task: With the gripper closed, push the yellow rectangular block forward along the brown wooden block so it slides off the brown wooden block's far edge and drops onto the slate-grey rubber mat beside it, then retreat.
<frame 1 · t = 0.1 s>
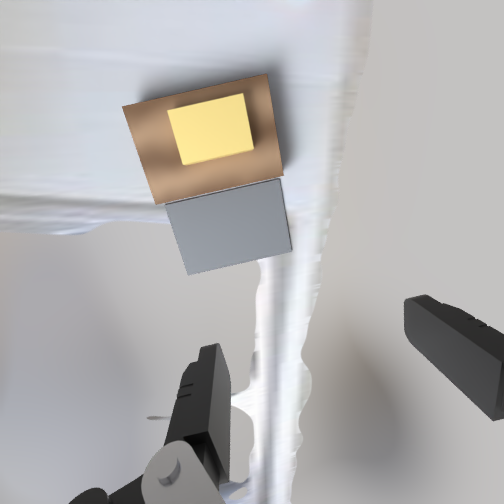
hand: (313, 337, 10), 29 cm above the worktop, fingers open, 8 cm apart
yellow rectangular block: (213, 133, 30), point 4 cm above the worktop, touching brown wooden block
mat: (231, 229, 38), on the worktop
brown wooden block: (210, 147, 34), on the worktop
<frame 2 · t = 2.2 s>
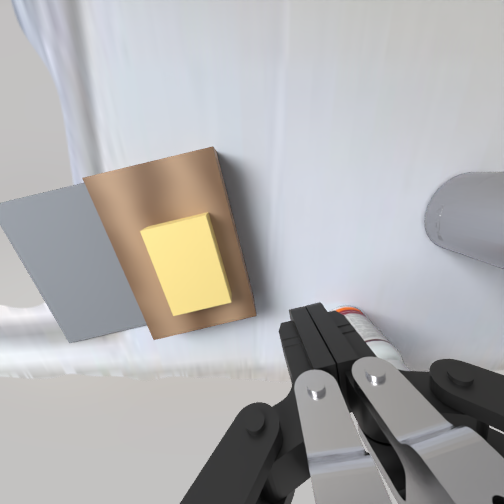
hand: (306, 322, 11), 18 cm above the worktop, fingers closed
yellow rectangular block: (192, 261, 24), point 4 cm above the worktop, touching brown wooden block
mat: (84, 268, 27), on the worktop
pill bottle: (341, 322, 33), on the worktop
brown wooden block: (187, 244, 27), on the worktop
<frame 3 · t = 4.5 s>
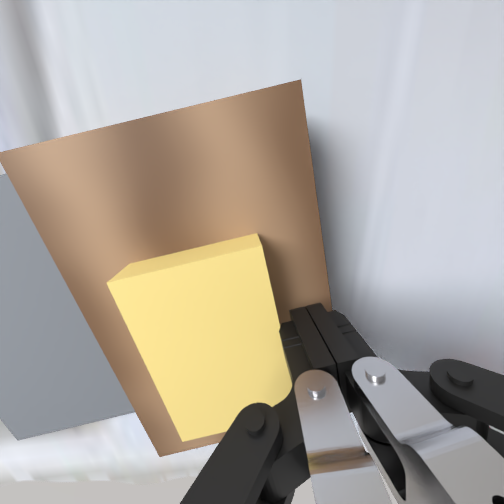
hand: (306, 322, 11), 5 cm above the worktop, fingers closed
yellow rectangular block: (219, 329, 12), point 4 cm above the worktop, touching brown wooden block, gripper
mat: (36, 324, 16), on the worktop
brown wooden block: (218, 280, 16), on the worktop
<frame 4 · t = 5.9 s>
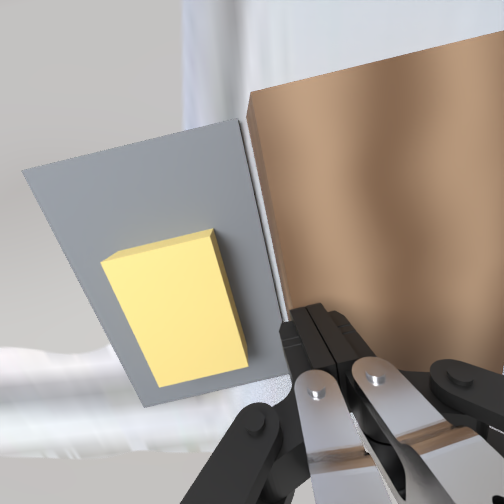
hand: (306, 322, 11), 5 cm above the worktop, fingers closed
yellow rectangular block: (181, 319, 14), point 2 cm above the worktop, tilted 180°, touching mat
mat: (182, 288, 16), on the worktop
brown wooden block: (364, 244, 16), on the worktop
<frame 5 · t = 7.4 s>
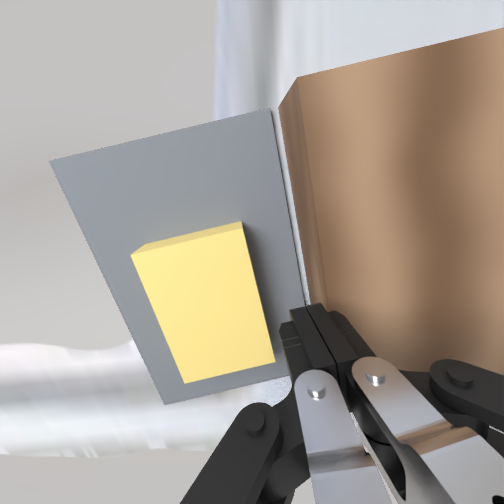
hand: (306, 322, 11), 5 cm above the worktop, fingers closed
yellow rectangular block: (210, 314, 14), point 2 cm above the worktop, tilted 180°, touching mat
mat: (207, 282, 15), on the worktop
brown wooden block: (391, 238, 15), on the worktop
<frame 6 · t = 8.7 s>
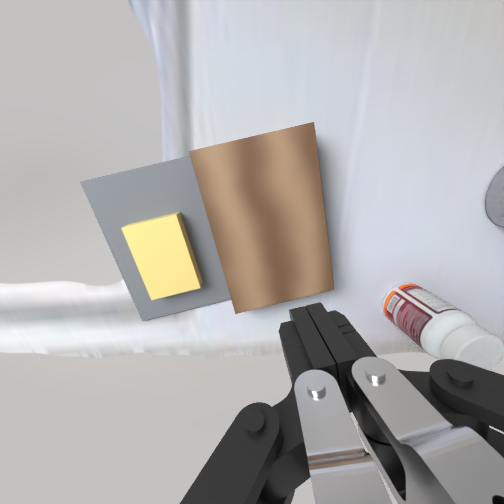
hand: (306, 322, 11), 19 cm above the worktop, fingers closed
yellow rectangular block: (163, 259, 26), point 2 cm above the worktop, tilted 180°, touching mat
mat: (164, 246, 28), on the worktop
pill bottle: (399, 299, 34), on the worktop
brown wooden block: (264, 221, 28), on the worktop
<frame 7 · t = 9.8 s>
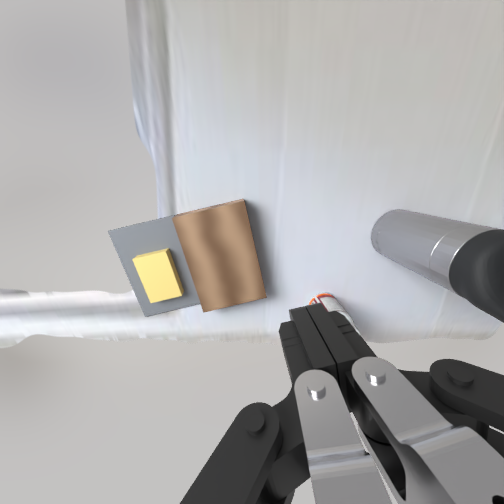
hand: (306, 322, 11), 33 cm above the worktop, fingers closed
yellow rectangular block: (157, 278, 42), point 2 cm above the worktop, tilted 180°, touching mat
mat: (159, 268, 44), on the worktop
pill bottle: (321, 304, 49), on the worktop
brown wooden block: (223, 253, 44), on the worktop
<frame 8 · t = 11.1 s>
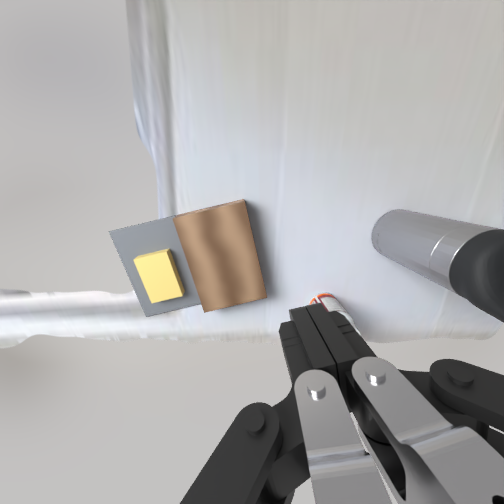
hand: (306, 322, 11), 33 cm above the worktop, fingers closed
yellow rectangular block: (158, 278, 42), point 2 cm above the worktop, tilted 180°, touching mat
mat: (160, 268, 44), on the worktop
pill bottle: (321, 304, 49), on the worktop
brown wooden block: (224, 253, 44), on the worktop
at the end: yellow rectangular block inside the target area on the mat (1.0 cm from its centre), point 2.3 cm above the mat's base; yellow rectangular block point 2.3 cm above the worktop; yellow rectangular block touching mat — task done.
